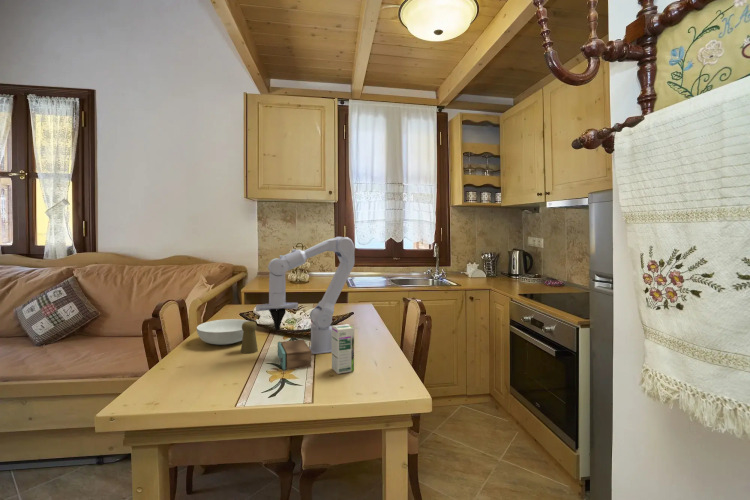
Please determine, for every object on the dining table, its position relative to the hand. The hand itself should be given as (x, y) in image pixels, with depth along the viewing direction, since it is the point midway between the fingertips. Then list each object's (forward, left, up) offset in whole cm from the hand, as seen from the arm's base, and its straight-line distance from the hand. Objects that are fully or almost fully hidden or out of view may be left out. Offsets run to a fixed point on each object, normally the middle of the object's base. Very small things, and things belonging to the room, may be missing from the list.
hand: (277, 329), depth 129 cm
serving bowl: (+17, -23, -10) cm, 30 cm away
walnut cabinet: (-5, +9, -9) cm, 14 cm away
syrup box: (-18, +21, -10) cm, 29 cm away
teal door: (0, +8, -9) cm, 12 cm away
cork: (+9, -8, -10) cm, 15 cm away
